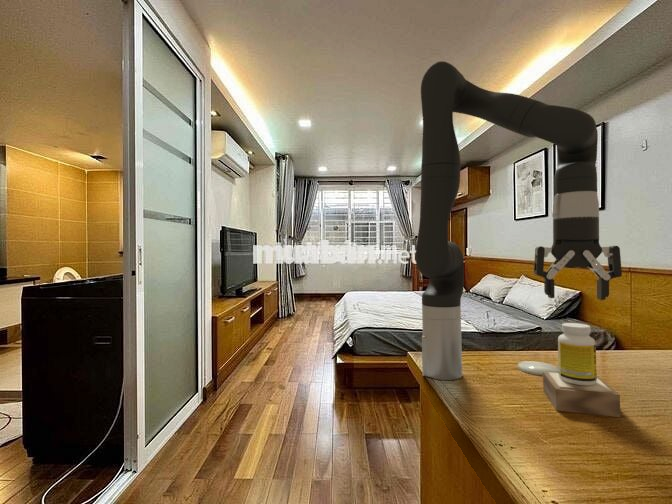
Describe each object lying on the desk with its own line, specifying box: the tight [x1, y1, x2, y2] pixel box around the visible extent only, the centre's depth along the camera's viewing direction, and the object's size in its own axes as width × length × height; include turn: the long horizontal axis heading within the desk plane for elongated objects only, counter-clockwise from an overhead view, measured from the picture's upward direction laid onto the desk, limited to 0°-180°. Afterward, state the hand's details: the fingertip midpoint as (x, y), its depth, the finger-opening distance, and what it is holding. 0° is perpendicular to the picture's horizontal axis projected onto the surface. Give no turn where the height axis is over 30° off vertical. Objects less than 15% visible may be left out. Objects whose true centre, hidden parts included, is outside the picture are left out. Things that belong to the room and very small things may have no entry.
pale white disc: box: [517, 360, 559, 377], centre depth 89 cm, size 9×9×1 cm
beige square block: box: [542, 372, 621, 418], centre depth 69 cm, size 10×10×4 cm
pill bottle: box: [557, 322, 597, 386], centre depth 69 cm, size 6×6×11 cm
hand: (575, 298), depth 69 cm, fingers open, 8 cm apart
